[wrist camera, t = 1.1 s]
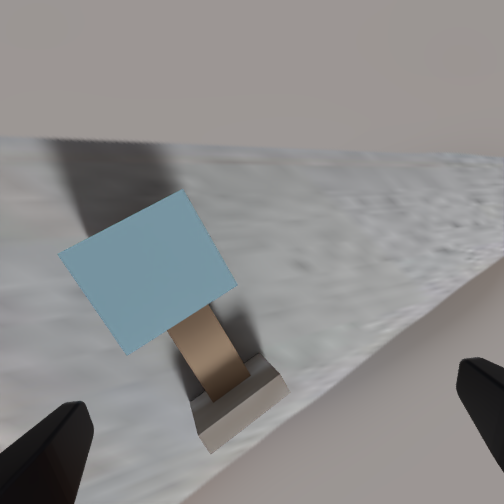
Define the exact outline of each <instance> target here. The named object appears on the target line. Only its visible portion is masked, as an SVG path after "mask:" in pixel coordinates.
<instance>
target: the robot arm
mask: <svg viewBox="0 0 504 504" xmlns="http://www.w3.org/2000/svg"><path fill="white" fill-rule="evenodd" d="M456 390H457V393H458V396H459V398H460V400H461V401H462V403H463V405H464V407H465V408H466V410H467V412H468V413H469V415H470V417H471V419H472V420H473V422H474V424H475V426H476V427H477V429H478V431H479V433H480V434H481V436H482V438H483V439H484V441H485V443H486V445H487V446H488V448H489V450H490V452H491V453H492V455H493V457H494V458H495V460H496V462H497V463H498V465H499V466H500V467H501V469H502V471H503V472H504V368H503V367H501V366H499V365H497V364H494V363H492V362H490V361H488V360H485V359H483V358H480V357H475V358H466V359H462V361H461V362H460V364H459V370H458V377H457V383H456ZM93 434H94V427H93V423H92V421H91V418H90V415H89V412H88V410H87V407H86V405H85V403H84V402H83V401H74V402H67V403H64V404H62V405H61V406H59V407H58V408H57V409H56V410H54V411H53V412H52V413H51V414H49V415H48V416H47V417H46V418H44V419H43V420H42V421H40V422H39V423H38V424H37V425H35V426H34V427H33V428H32V429H30V430H29V431H28V432H27V433H25V434H24V435H23V436H22V437H20V438H19V439H18V440H16V441H15V442H14V443H13V444H11V445H10V446H9V447H8V448H6V449H5V450H4V451H3V452H1V453H0V504H74V502H75V499H76V496H77V492H78V489H79V485H80V482H81V478H82V475H83V471H84V468H85V464H86V460H87V457H88V453H89V450H90V446H91V443H92V439H93Z"/></svg>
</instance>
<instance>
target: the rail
mask: <svg viewBox="0 0 504 504" xmlns="http://www.w3.org/2000/svg"><path fill="white" fill-rule="evenodd" d="M167 332H168V333H169V335H170V336H171V338H172V339H173V341H174V342H175V344H176V346H177V347H178V349H179V350H180V352H181V353H182V355H183V356H184V358H185V360H186V361H187V363H188V364H189V366H190V367H191V369H192V370H193V372H194V374H195V375H196V377H197V378H198V380H199V381H200V383H201V384H202V386H203V388H204V389H205V392H204V393H202V394H201V395H199V396H198V397H197V398H195V399H194V400H192V401H191V402H190V405H191V409H192V413H193V417H194V421H195V425H196V429H197V433H198V436H199V438H200V439H201V441H202V442H203V444H204V445H205V447H206V448H207V450H208V451H209V453H210V454H212V453H213V452H215V451H216V450H217V449H219V448H220V447H221V446H222V445H224V444H225V443H226V442H228V441H229V440H230V439H231V438H233V437H234V436H235V435H237V434H238V433H239V432H241V431H242V430H243V429H244V428H246V427H247V426H248V425H250V424H251V423H252V422H253V421H255V420H256V419H257V418H259V417H260V416H261V415H262V414H264V413H265V412H266V411H268V410H269V409H270V408H271V407H273V406H274V405H275V404H277V403H278V402H279V401H280V400H282V399H283V398H284V397H286V396H287V395H288V394H289V393H291V392H290V390H289V389H288V387H287V385H286V383H285V382H284V380H283V378H282V376H281V375H280V373H279V372H278V371H277V370H276V369H275V368H274V367H273V366H272V365H271V364H270V363H269V362H268V361H267V360H266V359H265V358H264V357H263V356H262V355H261V354H260V353H258V354H257V355H255V356H254V357H253V358H251V359H250V360H248V361H247V362H246V363H243V361H242V360H241V358H240V356H239V355H238V353H237V351H236V350H235V348H234V346H233V345H232V343H231V341H230V340H229V338H228V336H227V335H226V333H225V331H224V330H223V328H222V326H221V325H220V323H219V321H218V320H217V318H216V316H215V315H214V313H213V311H212V310H211V308H210V306H209V305H208V304H207V305H206V306H204V307H203V308H201V309H200V310H198V311H197V312H195V313H193V314H192V315H190V316H189V317H187V318H186V319H184V320H182V321H181V322H179V323H178V324H176V325H175V326H173V327H171V328H170V329H168V330H167Z"/></svg>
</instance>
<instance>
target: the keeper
mask: <svg viewBox="0 0 504 504" xmlns="http://www.w3.org/2000/svg"><path fill="white" fill-rule="evenodd" d="M58 256H59V257H60V259H61V260H62V262H63V263H64V265H65V266H66V268H67V269H68V270H69V272H70V273H71V275H72V276H73V278H74V279H75V281H76V282H77V284H78V285H79V287H80V288H81V289H82V291H83V292H84V294H85V295H86V297H87V298H88V300H89V301H90V303H91V304H92V306H93V307H94V308H95V310H96V311H97V313H98V314H99V316H100V317H101V319H102V320H103V322H104V323H105V325H106V326H107V327H108V329H109V330H110V332H111V333H112V335H113V336H114V338H115V339H116V341H117V342H118V344H119V345H120V347H121V348H122V349H123V351H124V352H125V354H126V355H129V354H131V353H132V352H134V351H135V350H137V349H138V348H140V347H142V346H143V345H145V344H146V343H148V342H149V341H151V340H153V339H154V338H156V337H157V336H159V335H160V334H162V333H164V332H165V331H167V330H168V329H170V328H171V327H173V326H175V325H176V324H178V323H179V322H181V321H182V320H184V319H186V318H187V317H189V316H190V315H192V314H193V313H195V312H197V311H198V310H200V309H201V308H203V307H204V306H206V305H207V304H209V303H211V302H212V301H214V300H215V299H217V298H218V297H220V296H222V295H223V294H225V293H226V292H228V291H229V290H231V289H233V288H234V287H236V286H237V283H236V281H235V279H234V278H233V276H232V274H231V272H230V271H229V269H228V267H227V265H226V264H225V262H224V260H223V258H222V257H221V255H220V253H219V251H218V250H217V248H216V246H215V244H214V243H213V241H212V239H211V237H210V236H209V234H208V232H207V230H206V229H205V227H204V225H203V223H202V222H201V220H200V218H199V216H198V215H197V213H196V211H195V209H194V208H193V206H192V204H191V202H190V201H189V199H188V197H187V195H186V194H185V192H184V190H183V189H181V190H179V191H178V192H176V193H174V194H172V195H170V196H168V197H166V198H164V199H162V200H160V201H158V202H156V203H154V204H153V205H151V206H149V207H147V208H145V209H143V210H141V211H139V212H137V213H135V214H133V215H131V216H129V217H128V218H126V219H124V220H122V221H120V222H118V223H116V224H114V225H112V226H110V227H108V228H106V229H105V230H103V231H101V232H99V233H97V234H95V235H93V236H91V237H89V238H87V239H85V240H83V241H81V242H80V243H78V244H76V245H74V246H72V247H70V248H68V249H66V250H64V251H62V252H60V253H58Z"/></svg>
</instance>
